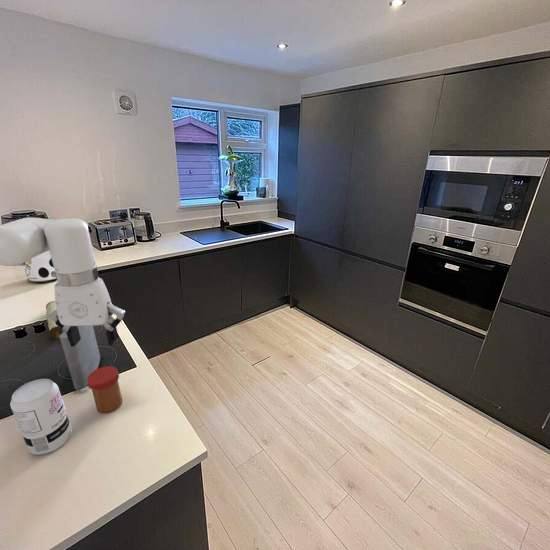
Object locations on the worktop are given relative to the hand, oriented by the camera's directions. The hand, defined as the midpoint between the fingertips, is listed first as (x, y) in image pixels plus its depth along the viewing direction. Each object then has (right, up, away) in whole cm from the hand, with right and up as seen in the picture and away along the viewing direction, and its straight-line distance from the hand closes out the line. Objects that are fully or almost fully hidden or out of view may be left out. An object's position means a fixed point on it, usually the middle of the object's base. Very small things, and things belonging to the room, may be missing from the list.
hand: (94, 342), depth 70 cm
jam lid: (0, -10, +4) cm, 10 cm away
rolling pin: (-42, -3, +44) cm, 61 cm away
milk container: (-79, +14, +86) cm, 117 cm away
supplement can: (-9, -22, -3) cm, 24 cm away
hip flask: (-14, -14, +19) cm, 27 cm away
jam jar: (-1, -19, +7) cm, 20 cm away
